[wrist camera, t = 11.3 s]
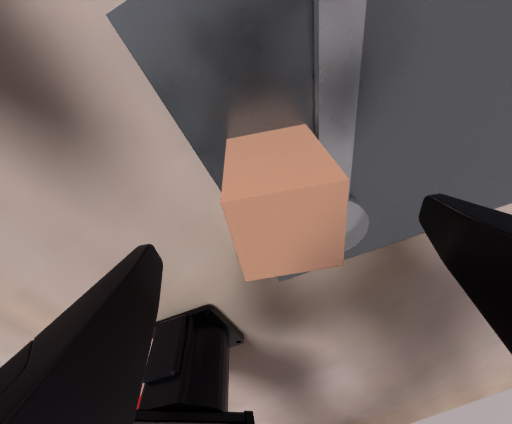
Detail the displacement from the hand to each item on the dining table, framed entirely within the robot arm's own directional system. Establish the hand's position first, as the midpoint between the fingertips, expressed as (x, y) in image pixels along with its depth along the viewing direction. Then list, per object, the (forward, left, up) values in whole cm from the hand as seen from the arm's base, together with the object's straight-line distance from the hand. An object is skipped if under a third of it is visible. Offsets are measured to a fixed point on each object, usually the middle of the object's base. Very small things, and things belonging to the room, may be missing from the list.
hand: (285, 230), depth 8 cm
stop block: (0, 0, -5) cm, 5 cm away
